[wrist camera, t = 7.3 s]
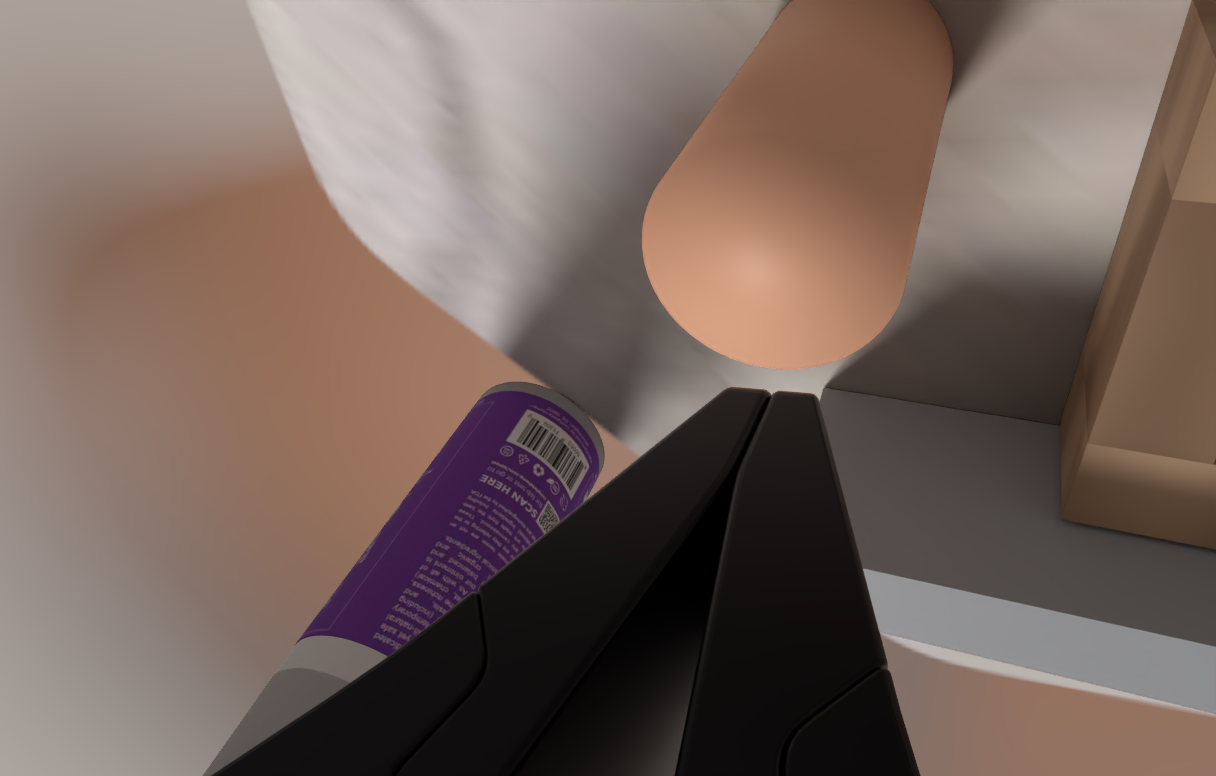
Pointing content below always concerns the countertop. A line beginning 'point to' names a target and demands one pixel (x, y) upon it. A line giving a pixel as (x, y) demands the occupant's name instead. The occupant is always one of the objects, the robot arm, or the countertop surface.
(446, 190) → the countertop surface
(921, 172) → the dowel
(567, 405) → the container
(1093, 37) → the countertop surface
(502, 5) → the countertop surface
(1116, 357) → the socket block
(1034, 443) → the backstop wall
